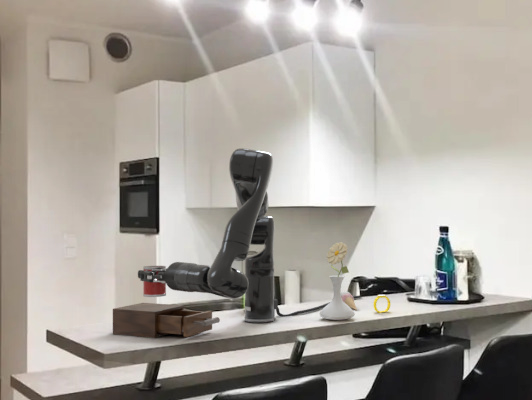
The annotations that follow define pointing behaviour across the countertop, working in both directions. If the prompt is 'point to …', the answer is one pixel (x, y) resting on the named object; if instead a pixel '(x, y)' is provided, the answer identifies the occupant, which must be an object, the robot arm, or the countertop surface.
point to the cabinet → (140, 319)
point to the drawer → (185, 322)
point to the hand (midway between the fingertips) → (149, 273)
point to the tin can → (154, 285)
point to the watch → (376, 302)
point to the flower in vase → (337, 286)
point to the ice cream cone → (348, 299)
